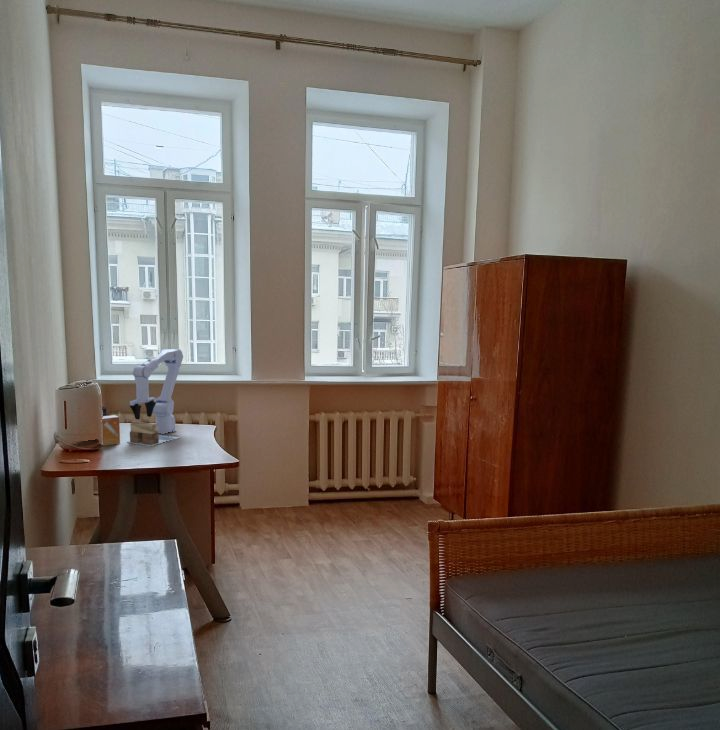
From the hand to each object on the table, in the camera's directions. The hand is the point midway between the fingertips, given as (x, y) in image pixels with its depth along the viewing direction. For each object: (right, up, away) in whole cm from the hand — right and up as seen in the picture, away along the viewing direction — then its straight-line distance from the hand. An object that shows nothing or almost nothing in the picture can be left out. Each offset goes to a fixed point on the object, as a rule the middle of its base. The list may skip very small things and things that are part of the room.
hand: (143, 417), depth 277 cm
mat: (+6, -11, -3) cm, 13 cm away
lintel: (+4, -6, -9) cm, 11 cm away
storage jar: (-24, -11, +2) cm, 26 cm away
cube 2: (+7, -11, -10) cm, 16 cm away
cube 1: (0, -11, -6) cm, 12 cm away
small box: (-12, -12, -10) cm, 20 cm away
